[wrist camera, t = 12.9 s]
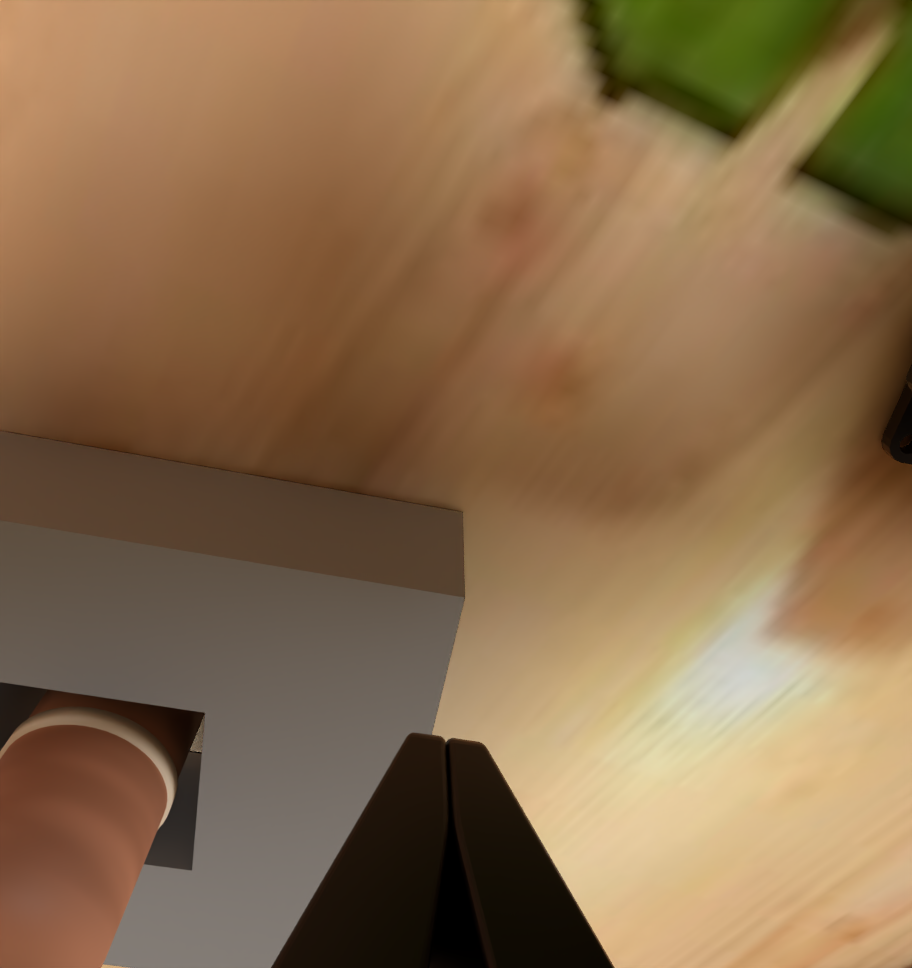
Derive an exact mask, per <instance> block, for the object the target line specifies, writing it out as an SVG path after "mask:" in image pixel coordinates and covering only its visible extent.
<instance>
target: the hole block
mask: <svg viewBox="0 0 912 968" xmlns="http://www.w3.org/2000/svg"><path fill="white" fill-rule="evenodd" d="M464 599H465V581H464V540H463V512H459V511H454V510H448V509H442V508H437V507H431V506H425V505H420V504H414V503H408V502H402V501H397V500H391V499H385V498H380V497H374V496H368V495H363V494H357V493H351V492H346V491H340V490H334V489H329V488H323V487H317V486H311V485H306V484H300V483H294V482H289V481H283V480H277V479H272V478H266V477H260V476H255V475H249V474H243V473H238V472H232V471H226V470H220V469H215V468H209V467H203V466H198V465H192V464H186V463H181V462H175V461H169V460H164V459H158V458H152V457H147V456H141V455H135V454H129V453H124V452H118V451H112V450H107V449H101V448H95V447H90V446H84V445H78V444H73V443H67V442H61V441H56V440H50V439H44V438H38V437H33V436H27V435H21V434H16V433H10V432H4V431H0V751H1V750H2V748H3V747H4V745H5V744H6V742H7V741H8V739H9V738H10V737H11V735H12V734H13V732H14V731H15V730H16V728H17V727H18V726H19V725H20V724H22V723H23V722H24V721H26V720H27V719H28V718H29V716H30V715H31V714H32V712H33V711H34V709H35V708H36V706H37V705H38V703H39V702H40V700H41V699H42V697H43V696H44V695H45V693H46V692H47V690H48V689H50V690H56V691H63V692H70V693H76V694H83V695H90V696H96V697H103V698H110V699H117V700H123V701H130V702H137V703H143V704H150V705H157V706H163V707H170V708H177V709H184V710H190V711H197V712H204V713H205V722H204V734H203V746H202V754H200V753H194V752H189V753H188V756H187V758H186V761H185V763H184V766H183V768H182V771H181V773H180V775H179V778H178V787H177V793H176V796H175V798H174V801H173V804H172V806H171V809H170V811H169V814H168V816H167V818H166V820H165V821H164V823H163V824H162V825H161V827H160V828H159V829H158V830H157V832H156V835H155V837H154V840H153V842H152V845H151V847H150V850H149V852H148V855H147V857H146V860H145V862H144V865H143V867H142V870H141V872H140V875H139V877H138V879H137V882H136V884H135V887H134V889H133V892H132V894H131V897H130V899H129V902H128V904H127V907H126V909H125V912H124V914H123V917H122V919H121V922H120V924H119V926H118V929H117V931H116V934H115V936H114V939H113V941H112V944H111V946H110V949H109V951H108V954H107V956H106V959H105V961H104V963H103V964H105V965H114V966H122V967H130V968H271V967H272V965H273V963H274V962H275V960H276V958H277V956H278V955H279V953H280V951H281V950H282V948H283V946H284V945H285V943H286V941H287V939H288V938H289V936H290V934H291V933H292V931H293V929H294V927H295V926H296V924H297V922H298V921H299V919H300V917H301V916H302V914H303V912H304V910H305V909H306V907H307V905H308V904H309V902H310V900H311V899H312V897H313V895H314V893H315V892H316V890H317V888H318V887H319V885H320V883H321V881H322V880H323V878H324V876H325V875H326V873H327V871H328V870H329V868H330V866H331V864H332V863H333V861H334V859H335V858H336V856H337V854H338V853H339V851H340V849H341V847H342V846H343V844H344V842H345V841H346V839H347V837H348V836H349V834H350V832H351V830H352V829H353V827H354V825H355V824H356V822H357V820H358V818H359V817H360V815H361V813H362V812H363V810H364V808H365V807H366V805H367V803H368V801H369V800H370V798H371V796H372V795H373V793H374V791H375V790H376V788H377V786H378V784H379V783H380V781H381V779H382V778H383V776H384V774H385V772H386V771H387V769H388V767H389V766H390V764H391V762H392V761H393V759H394V757H395V755H396V754H397V752H398V750H399V749H400V747H401V745H402V744H403V742H404V740H405V738H406V737H407V736H408V735H409V734H410V733H412V732H416V733H422V734H429V735H432V731H433V727H434V723H435V719H436V714H437V710H438V706H439V702H440V698H441V694H442V690H443V686H444V681H445V677H446V673H447V669H448V665H449V661H450V657H451V653H452V649H453V644H454V640H455V636H456V632H457V628H458V624H459V620H460V616H461V612H462V607H463V603H464Z"/></svg>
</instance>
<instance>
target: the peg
mask: <svg viewBox="0 0 912 968" xmlns="http://www.w3.org/2000/svg"><path fill="white" fill-rule="evenodd" d="M204 714H205V713H204V712H197V711H190V710H184V709H177V708H170V707H163V706H157V705H150V704H143V703H137V702H130V701H123V700H117V699H110V698H103V697H96V696H90V695H83V694H76V693H70V692H63V691H56V690H50V689H48V690H47V692H46V693H45V695H44V696H43V697H42V699H41V700H40V702H39V703H38V705H37V706H36V708H35V709H34V711H33V712H32V714H31V715H30V716H29V718H28V719H27V720H26V721H24V722H23V723H22V724H20V725H19V726H18V727H17V728H16V730H15V731H14V732H13V734H12V735H11V737H10V738H9V739H8V741H7V742H6V744H5V745H4V747H3V748H2V750H1V751H0V968H101V966H102V965H103V963H104V961H105V959H106V956H107V954H108V951H109V949H110V946H111V944H112V941H113V939H114V936H115V934H116V931H117V929H118V926H119V924H120V922H121V919H122V917H123V914H124V912H125V909H126V907H127V904H128V902H129V899H130V897H131V894H132V892H133V889H134V887H135V884H136V882H137V879H138V877H139V875H140V872H141V870H142V867H143V865H144V862H145V860H146V857H147V855H148V852H149V850H150V847H151V845H152V842H153V840H154V837H155V835H156V832H157V830H158V829H159V828H160V827H161V825H162V824H163V823H164V821H165V820H166V818H167V816H168V814H169V811H170V809H171V806H172V804H173V801H174V798H175V796H176V793H177V787H178V778H179V775H180V773H181V771H182V768H183V766H184V763H185V761H186V758H187V756H188V753H189V751H190V748H191V746H192V743H193V741H194V738H195V736H196V733H197V731H198V728H199V726H200V724H201V721H202V719H203V716H204Z"/></svg>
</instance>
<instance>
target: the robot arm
mask: <svg viewBox="0 0 912 968" xmlns="http://www.w3.org/2000/svg"><path fill="white" fill-rule="evenodd" d="M906 380H907V384H906V386H905V388H904V391H903V393H902V395H901V397H900V399H899V401H898V404H897V406H896V408H895V410H894V412H893V414H892V417H891V419H890V421H889V423H888V425H887V427H886V430H885V432H884V434H883V438H882V446H883V449H884V450H885V451H886V453H887V454H889V455H890V456H891V457H892V458H894V459H895V460H897V461H899V462H902V463H907V464H912V440H911V442H910V443H909V444H908V445H906V446H904V447H900V442H901V441H902V440H903V438H904V437H906V436H908V435H912V365H911V367H910V369H909V372H908V374H907V376H906ZM271 968H614V966H613V964H612V962H611V961H610V959H609V957H608V956H607V954H606V952H605V950H604V949H603V947H602V945H601V943H600V942H599V940H598V938H597V937H596V935H595V933H594V931H593V930H592V928H591V926H590V925H589V923H588V921H587V919H586V918H585V916H584V914H583V913H582V911H581V909H580V907H579V906H578V904H577V902H576V900H575V899H574V897H573V895H572V894H571V892H570V890H569V888H568V887H567V885H566V883H565V882H564V880H563V878H562V876H561V875H560V873H559V871H558V870H557V868H556V866H555V864H554V863H553V861H552V859H551V857H550V856H549V854H548V852H547V851H546V849H545V847H544V845H543V844H542V842H541V840H540V839H539V837H538V835H537V833H536V832H535V830H534V828H533V827H532V825H531V823H530V821H529V820H528V818H527V816H526V814H525V813H524V811H523V809H522V808H521V806H520V804H519V802H518V801H517V799H516V797H515V796H514V794H513V792H512V790H511V789H510V787H509V785H508V784H507V782H506V780H505V778H504V777H503V775H502V773H501V772H500V770H499V768H498V766H497V765H496V763H495V761H494V759H493V758H492V756H491V754H490V753H489V751H488V749H487V748H486V746H485V745H484V744H482V743H480V742H476V741H469V740H462V739H456V738H451V739H449V740H448V741H447V742H445V740H444V738H443V737H441V736H436V735H429V734H422V733H416V732H412V733H410V734H409V735H408V736H407V737H406V738H405V740H404V742H403V744H402V745H401V747H400V749H399V750H398V752H397V754H396V755H395V757H394V759H393V761H392V762H391V764H390V766H389V767H388V769H387V771H386V772H385V774H384V776H383V778H382V779H381V781H380V783H379V784H378V786H377V788H376V790H375V791H374V793H373V795H372V796H371V798H370V800H369V801H368V803H367V805H366V807H365V808H364V810H363V812H362V813H361V815H360V817H359V818H358V820H357V822H356V824H355V825H354V827H353V829H352V830H351V832H350V834H349V836H348V837H347V839H346V841H345V842H344V844H343V846H342V847H341V849H340V851H339V853H338V854H337V856H336V858H335V859H334V861H333V863H332V864H331V866H330V868H329V870H328V871H327V873H326V875H325V876H324V878H323V880H322V881H321V883H320V885H319V887H318V888H317V890H316V892H315V893H314V895H313V897H312V899H311V900H310V902H309V904H308V905H307V907H306V909H305V910H304V912H303V914H302V916H301V917H300V919H299V921H298V922H297V924H296V926H295V927H294V929H293V931H292V933H291V934H290V936H289V938H288V939H287V941H286V943H285V945H284V946H283V948H282V950H281V951H280V953H279V955H278V956H277V958H276V960H275V962H274V963H273V965H272V967H271Z"/></svg>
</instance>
